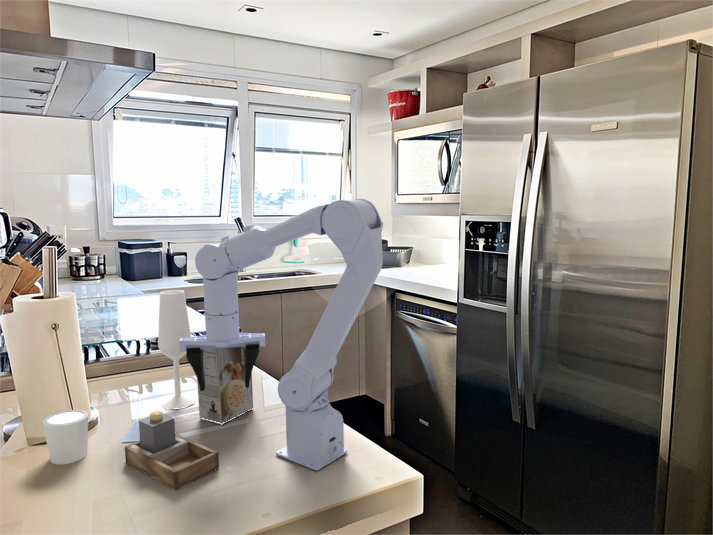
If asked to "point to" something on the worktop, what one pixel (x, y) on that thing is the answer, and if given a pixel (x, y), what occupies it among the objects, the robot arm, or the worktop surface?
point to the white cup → (67, 436)
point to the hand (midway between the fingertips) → (225, 387)
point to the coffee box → (224, 385)
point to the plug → (157, 432)
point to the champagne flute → (174, 338)
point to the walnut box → (174, 461)
